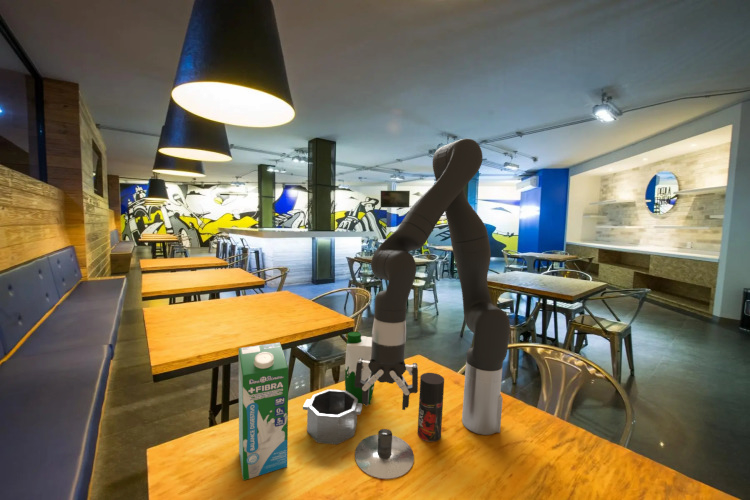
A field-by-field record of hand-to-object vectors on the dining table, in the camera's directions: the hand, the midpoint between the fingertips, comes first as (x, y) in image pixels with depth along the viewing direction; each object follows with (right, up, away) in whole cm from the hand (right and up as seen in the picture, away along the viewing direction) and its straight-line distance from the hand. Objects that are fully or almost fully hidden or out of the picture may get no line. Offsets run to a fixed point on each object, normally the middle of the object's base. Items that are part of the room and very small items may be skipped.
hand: (384, 406), depth 74 cm
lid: (0, -12, +1) cm, 12 cm away
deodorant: (+12, -12, +9) cm, 19 cm away
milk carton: (-27, -11, -2) cm, 30 cm away
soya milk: (-7, -9, +25) cm, 27 cm away
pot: (-13, -10, +10) cm, 20 cm away
